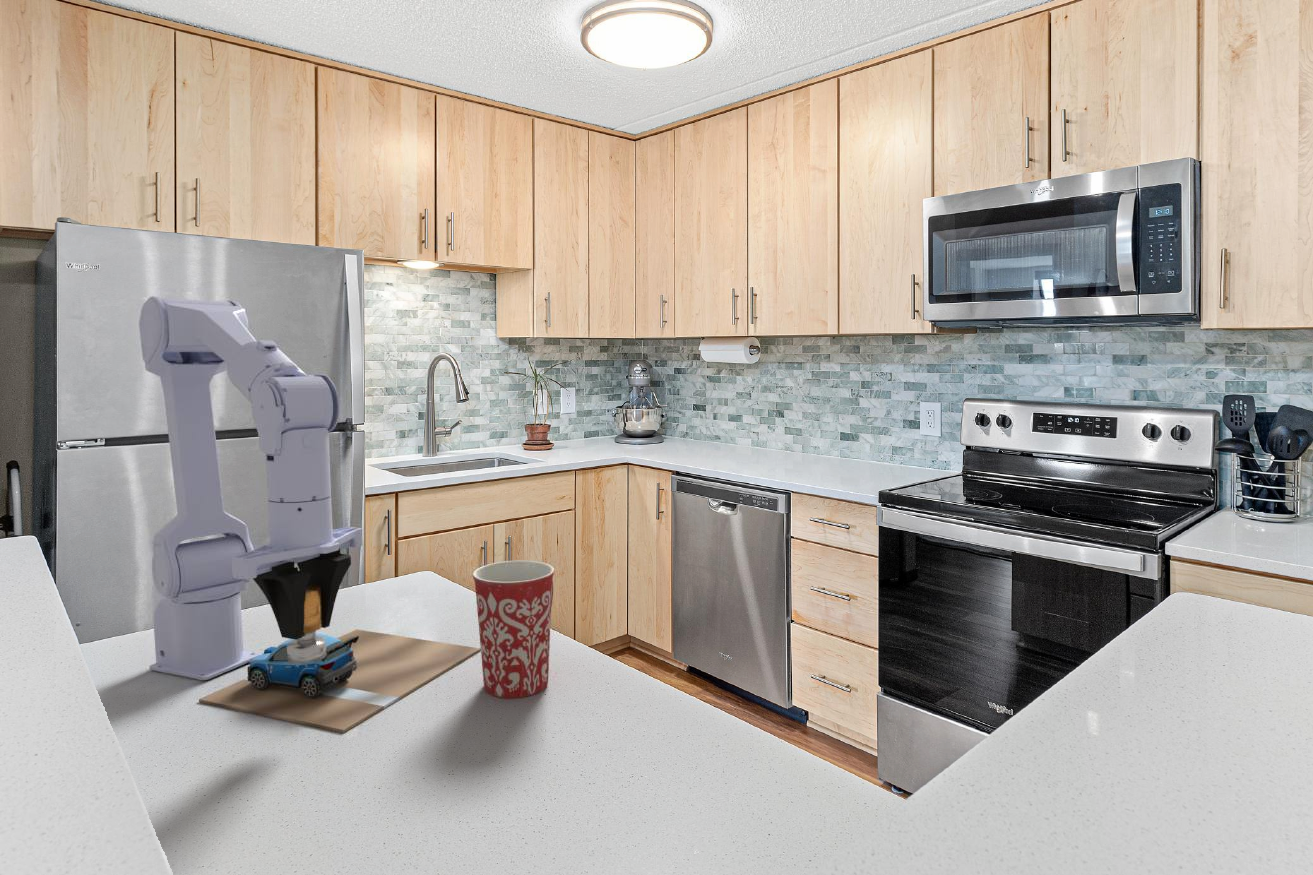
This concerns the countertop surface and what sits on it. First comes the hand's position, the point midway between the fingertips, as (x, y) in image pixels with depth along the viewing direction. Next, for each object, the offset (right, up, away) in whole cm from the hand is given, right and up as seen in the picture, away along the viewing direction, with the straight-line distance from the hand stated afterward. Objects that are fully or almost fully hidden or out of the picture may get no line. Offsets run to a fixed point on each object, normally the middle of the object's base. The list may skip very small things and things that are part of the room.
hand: (306, 631), depth 79 cm
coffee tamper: (0, -3, 0) cm, 3 cm away
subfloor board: (-1, -9, +14) cm, 17 cm away
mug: (+20, -9, +13) cm, 25 cm away
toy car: (-5, -9, +10) cm, 15 cm away
